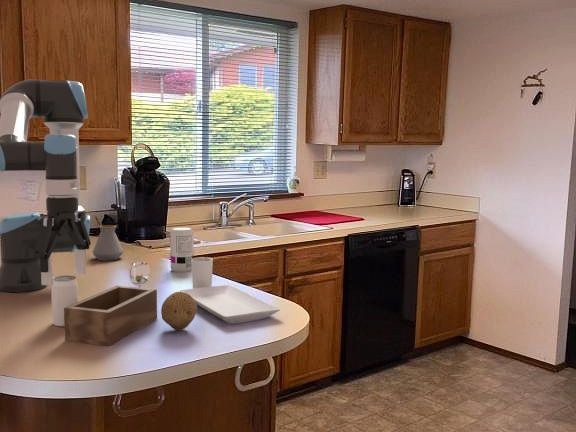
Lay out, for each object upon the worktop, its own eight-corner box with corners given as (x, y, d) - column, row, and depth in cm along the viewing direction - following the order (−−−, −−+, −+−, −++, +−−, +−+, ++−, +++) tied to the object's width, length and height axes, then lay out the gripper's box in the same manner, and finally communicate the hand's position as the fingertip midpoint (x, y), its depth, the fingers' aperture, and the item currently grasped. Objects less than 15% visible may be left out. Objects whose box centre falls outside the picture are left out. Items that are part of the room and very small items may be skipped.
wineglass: (140, 308, 176) (139, 266, 175) (125, 305, 179) (124, 264, 178) (154, 304, 181) (154, 263, 180) (140, 301, 184) (139, 260, 183)
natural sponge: (195, 336, 153) (195, 296, 152) (158, 336, 153) (158, 296, 151) (197, 325, 162) (197, 287, 161) (162, 325, 162) (162, 287, 160)
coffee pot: (127, 260, 242) (127, 221, 240) (97, 262, 236) (96, 223, 234) (110, 250, 260) (109, 214, 258) (82, 253, 254) (81, 216, 252)
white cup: (196, 294, 193) (196, 262, 192) (188, 289, 199) (188, 258, 197) (216, 291, 197) (216, 260, 195) (207, 287, 202) (207, 256, 201)
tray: (229, 294, 195) (229, 283, 195) (281, 320, 169) (281, 308, 168) (178, 301, 186) (178, 289, 186) (224, 330, 160) (224, 316, 159)
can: (70, 328, 158) (69, 281, 157) (47, 326, 159) (45, 279, 158) (83, 320, 164) (82, 275, 163) (61, 318, 166) (60, 274, 164)
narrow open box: (64, 340, 149) (63, 307, 148) (117, 314, 171) (116, 285, 170) (109, 346, 145) (108, 312, 144) (157, 318, 167) (156, 289, 166)
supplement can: (166, 271, 224) (165, 229, 222) (178, 266, 232) (178, 226, 230) (185, 273, 221) (185, 231, 219) (197, 268, 229) (197, 228, 227)
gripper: (42, 200, 145) (45, 291, 147) (103, 193, 168) (104, 270, 171) (14, 199, 147) (18, 288, 149) (78, 192, 170) (80, 268, 173)
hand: (64, 279), depth 160 cm, fingers open, 13 cm apart
